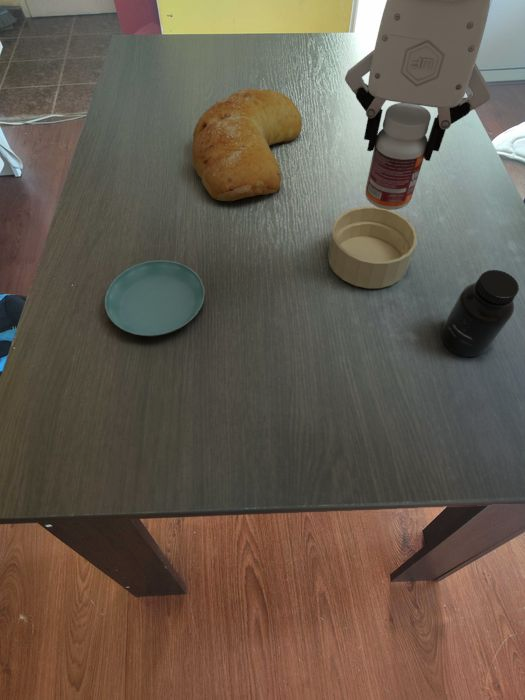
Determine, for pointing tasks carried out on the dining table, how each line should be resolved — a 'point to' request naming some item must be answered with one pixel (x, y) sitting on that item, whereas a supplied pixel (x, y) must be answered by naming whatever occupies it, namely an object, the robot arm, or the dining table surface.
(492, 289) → the supplement bottle
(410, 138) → the pill bottle
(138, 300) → the saucer
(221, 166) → the bread
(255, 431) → the dining table surface
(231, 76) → the dining table surface
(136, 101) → the dining table surface
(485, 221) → the dining table surface
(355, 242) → the beige round bowl
